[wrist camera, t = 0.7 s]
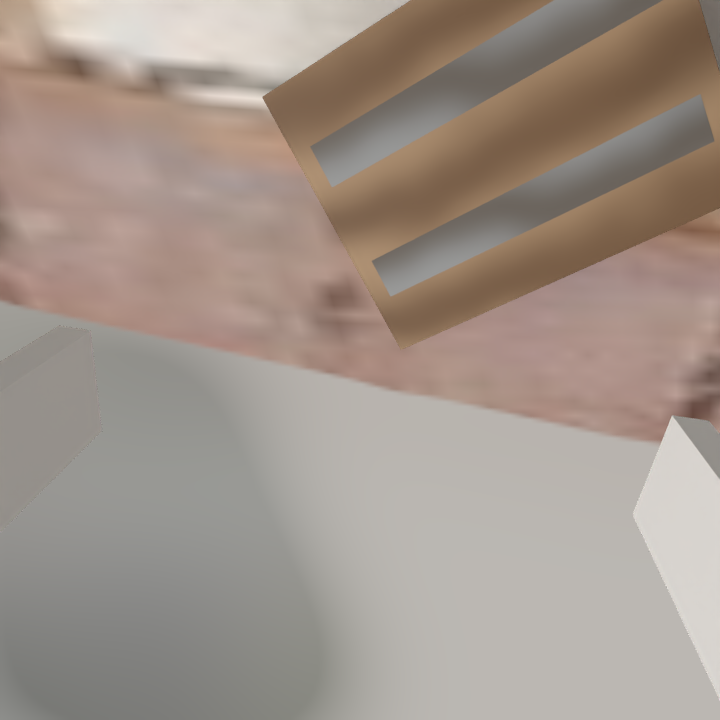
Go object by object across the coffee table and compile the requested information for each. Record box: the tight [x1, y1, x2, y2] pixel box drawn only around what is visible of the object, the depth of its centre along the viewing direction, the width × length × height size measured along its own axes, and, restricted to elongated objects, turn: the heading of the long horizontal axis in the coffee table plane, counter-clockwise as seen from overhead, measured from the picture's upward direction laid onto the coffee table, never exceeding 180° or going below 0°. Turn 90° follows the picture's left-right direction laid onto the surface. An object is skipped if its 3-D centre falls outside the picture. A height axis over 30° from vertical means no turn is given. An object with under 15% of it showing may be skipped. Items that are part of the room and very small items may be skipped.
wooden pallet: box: [263, 0, 720, 350], centre depth 30 cm, size 16×20×3 cm
